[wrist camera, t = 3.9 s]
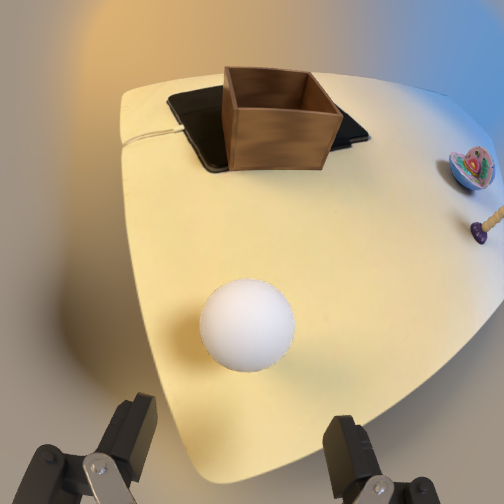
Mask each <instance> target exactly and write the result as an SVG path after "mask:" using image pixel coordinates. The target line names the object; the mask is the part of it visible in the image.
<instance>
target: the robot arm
mask: <svg viewBox="0 0 504 504" xmlns="http://www.w3.org/2000/svg"><path fill="white" fill-rule="evenodd" d="M156 408H157V407H156V399H155V396H151V395H147V394H144V393H140V392H139V393H138V394H137V395H136V397H135V399H134V402H131V401H128V400H125V401H124V402H123V403H121V404H120V405H119V406H118V407H117V409H116V411H115V413H114V415H113V417H112V419H111V421H110V424H109V425H108V427H107V429H106V431H105V433H104V436H103V437H102V440H101V442H100V444H99V446H98V448H97V449H96V451H95V452H93V453H91V454H89V455H86V456H77V455H70V454H64V453H62V452H61V450H60V449H58V448H57V447H55V446H53V445H50V444H45V445H42V446H40V447H39V448H38V449H37V450H36V452H35V454H34V456H33V458H32V460H31V462H30V464H29V466H28V468H27V470H26V472H25V475H24V477H23V479H22V481H21V484H20V486H19V488H18V491H17V493H16V495H15V498H14V500H13V503H12V504H80V502H81V498H82V495H88V496H94V498H95V500H96V503H97V504H137V503H136V501H135V499H134V497H133V496H132V494H131V492H130V490H129V487H130V484H131V481H135V482H139V479H140V476H141V473H142V470H143V466H144V463H145V460H146V457H147V454H148V451H149V448H150V444H151V441H152V438H153V435H154V432H155V429H156V425H157V419H158V416H157V409H156ZM323 448H324V453H325V457H326V462H327V466H328V471H329V476H330V481H331V485H332V490H333V495H334V499H337V498H343V503H342V504H440V501H439V498H438V496H437V493H436V490H435V487H434V485H433V482H432V481H431V480H430V479H428V478H426V477H418V478H416V479H414V480H413V481H412V482H411V483H404V482H403V483H401V482H393V481H392V480H391V479H390V478H388V477H386V476H384V475H383V474H382V473H381V470H380V467H379V464H378V462H377V459H376V456H375V453H374V451H373V449H372V445H371V443H370V440H369V437H368V435H367V432H366V431H365V430H364V429H363V428H362V426H361V425H355V423H354V420H353V417H352V416H351V415H343V416H334V418H333V419H332V421H331V423H330V424H329V426H328V428H327V430H326V431H325V433H324V435H323Z"/></svg>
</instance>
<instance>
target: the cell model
mask: <svg viewBox="0 0 504 504" xmlns="http://www.w3.org/2000/svg"><path fill="white" fill-rule="evenodd" d="M449 163H450V168H451V171H452V173H453V175H454V177H455V178H456V179H457V181H458V182H459V183H460V184H462V185H463V186H464V187H466V188H468V189H471V190H482V189H485V188H486V187H488V186H489V185H490V184H491V183H492V182H493V180H494V177H495V165H494V162H493V159H492V157H491V156H490V154H489V153H488V151H487V150H486V149H484V148H482V147H480V146H477V147H473V148H472V149H470V150H469V152H468V153H467V155H466V156H464V155H462V154H460V153H458V152H451V153H450V158H449Z"/></svg>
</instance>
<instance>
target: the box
mask: <svg viewBox="0 0 504 504" xmlns="http://www.w3.org/2000/svg"><path fill="white" fill-rule="evenodd" d="M342 119H343V115H342V114H341V112H340V111H339V110H338V108H337V107H336V105H335V104H334V103H333V101H332V100H331V98H330V97H329V96H328V94H327V93H326V92H325V90H324V89H323V88H322V86H321V85H320V84H319V83H318V81H317V80H316V79H315V77H314V76H313V75H312V74H311V72H305V71H297V70H288V69H277V68H262V67H225V70H224V85H223V102H222V123H223V130H224V138H225V145H226V152H227V159H228V166H229V171H235V170H272V169H301V170H322V168H323V166H324V163H325V161H326V158H327V156H328V154H329V151H330V149H331V146H332V144H333V141H334V139H335V137H336V134H337V132H338V129H339V127H340V124H341V122H342Z"/></svg>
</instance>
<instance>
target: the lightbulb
mask: <svg viewBox="0 0 504 504" xmlns="http://www.w3.org/2000/svg"><path fill="white" fill-rule="evenodd" d="M199 329H200V336H201V339H202V342H203V345H204V346H205V348H206V350H207V352H208V353H209V354H210V355H211V357H212V358H213V359H214V360H215V361H217V362H218V363H219V364H221V365H222V366H224V367H226V368H228V369H230V370H234V371H238V372H248V373H249V372H257V371H260V370H263V369H266V368H269V367H270V366H272V365H274V364H275V363H277V362H278V361H279V360H280V359H281V358H282V357H283V356H284V355H285V353H286V352H287V351H288V349H289V347H290V345H291V343H292V340H293V336H294V331H295V320H294V315H293V311H292V309H291V306H290V304H289V302H288V301H287V299H286V298H285V296H284V295H283V294H282V293H281V292H280V291H279V290H278V289H276V288H275V287H274V286H272V285H270V284H268V283H266V282H264V281H261V280H257V279H248V278H247V279H238V280H234V281H231V282H228V283H226V284H224V285H222V286H220V287H219V288H218V289H217V290H215V291H214V292H213V293H212V294H211V295H210V297H209V298H208V299H207V301H206V303H205V305H204V306H203V309H202V312H201V315H200V322H199Z"/></svg>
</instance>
